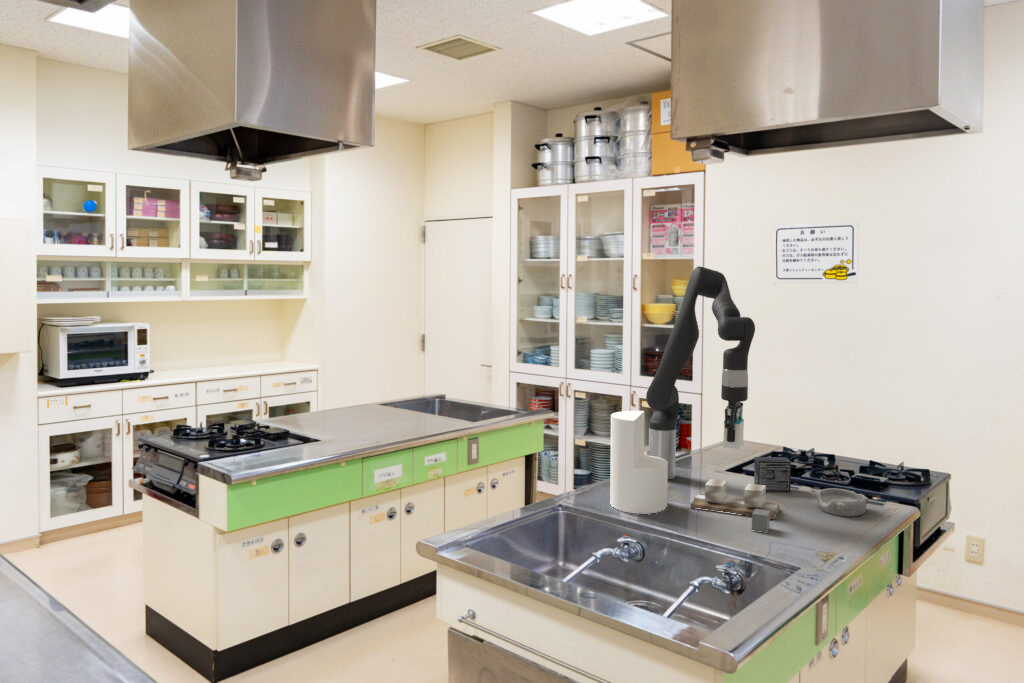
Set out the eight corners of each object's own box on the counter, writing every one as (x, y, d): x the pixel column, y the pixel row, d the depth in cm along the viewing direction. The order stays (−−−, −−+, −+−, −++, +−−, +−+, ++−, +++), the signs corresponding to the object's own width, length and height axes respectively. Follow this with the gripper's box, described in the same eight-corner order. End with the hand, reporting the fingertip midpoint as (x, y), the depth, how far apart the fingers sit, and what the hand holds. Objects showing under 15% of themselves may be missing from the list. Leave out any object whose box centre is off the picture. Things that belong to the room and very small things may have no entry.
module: (723, 447, 224) (724, 420, 223) (727, 443, 229) (728, 417, 228) (738, 449, 222) (739, 422, 221) (743, 444, 227) (743, 418, 226)
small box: (786, 487, 250) (786, 456, 249) (791, 493, 244) (792, 461, 243) (753, 486, 251) (754, 456, 250) (757, 492, 245) (758, 460, 244)
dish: (845, 520, 216) (846, 503, 216) (806, 507, 229) (806, 491, 228) (878, 513, 223) (879, 496, 223) (839, 501, 235) (839, 485, 235)
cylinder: (604, 511, 226) (605, 419, 223) (616, 495, 242) (617, 409, 240) (662, 517, 220) (663, 422, 218) (671, 500, 236) (672, 412, 234)
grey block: (751, 531, 208) (752, 513, 207) (754, 526, 212) (755, 508, 212) (766, 533, 206) (767, 515, 205) (769, 528, 210) (770, 510, 210)
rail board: (690, 508, 228) (690, 485, 227) (699, 498, 238) (700, 475, 238) (773, 520, 217) (774, 495, 216) (779, 508, 227) (780, 484, 227)
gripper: (727, 380, 232) (725, 433, 233) (716, 386, 219) (714, 443, 221) (752, 381, 228) (750, 436, 230) (742, 388, 216) (741, 445, 217)
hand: (733, 439), depth 225 cm, fingers closed on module, 6 cm apart
